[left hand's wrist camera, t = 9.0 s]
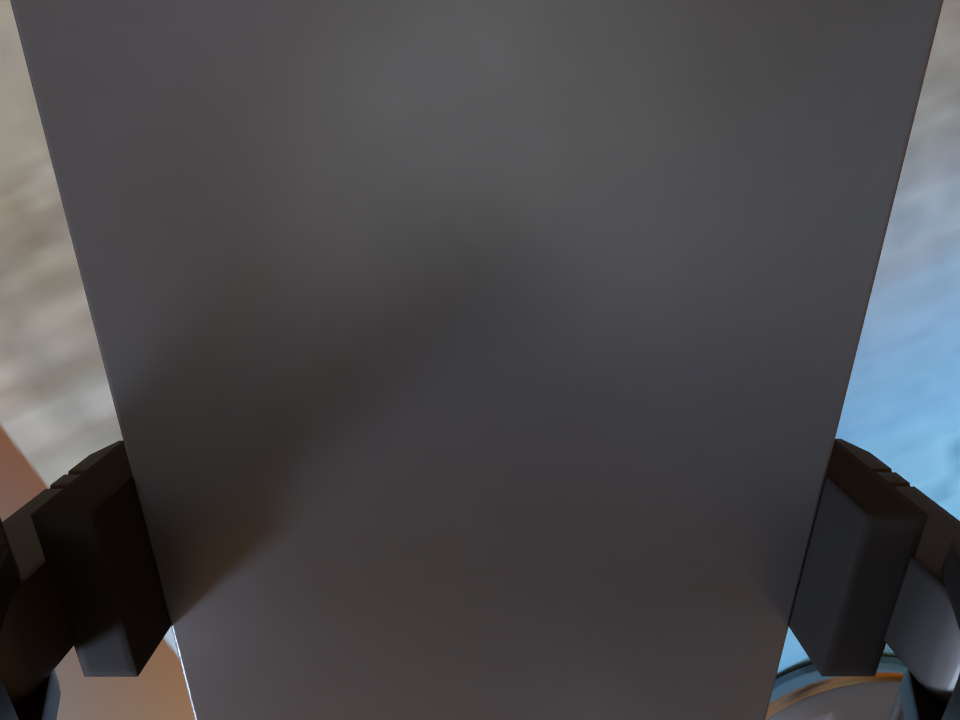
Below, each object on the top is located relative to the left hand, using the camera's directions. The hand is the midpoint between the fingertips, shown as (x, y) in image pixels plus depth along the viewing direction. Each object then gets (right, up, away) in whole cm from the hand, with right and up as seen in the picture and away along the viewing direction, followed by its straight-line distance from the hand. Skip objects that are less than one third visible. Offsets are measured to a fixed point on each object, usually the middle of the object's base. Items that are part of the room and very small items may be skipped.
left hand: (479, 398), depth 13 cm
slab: (0, +22, -7) cm, 23 cm away
